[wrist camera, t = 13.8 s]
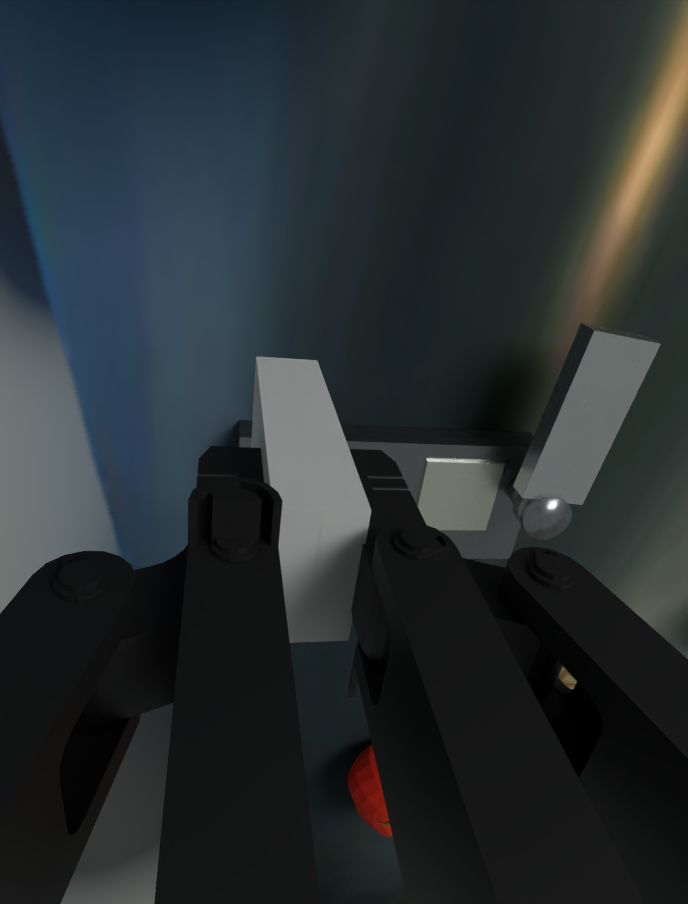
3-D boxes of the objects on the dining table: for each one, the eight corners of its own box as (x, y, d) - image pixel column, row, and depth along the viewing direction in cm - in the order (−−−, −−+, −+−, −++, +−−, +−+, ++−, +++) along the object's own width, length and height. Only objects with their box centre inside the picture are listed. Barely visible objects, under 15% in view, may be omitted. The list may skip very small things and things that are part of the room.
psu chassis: (239, 420, 48) (240, 450, 44) (535, 432, 54) (563, 461, 49) (233, 539, 54) (233, 577, 49) (502, 539, 59) (524, 573, 55)
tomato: (338, 789, 75) (350, 864, 68) (343, 725, 69) (357, 799, 62) (441, 776, 78) (464, 847, 70) (456, 712, 72) (482, 782, 64)
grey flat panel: (644, 335, 44) (665, 346, 42) (554, 525, 52) (568, 542, 50) (579, 322, 43) (598, 332, 41) (497, 519, 51) (509, 536, 48)
